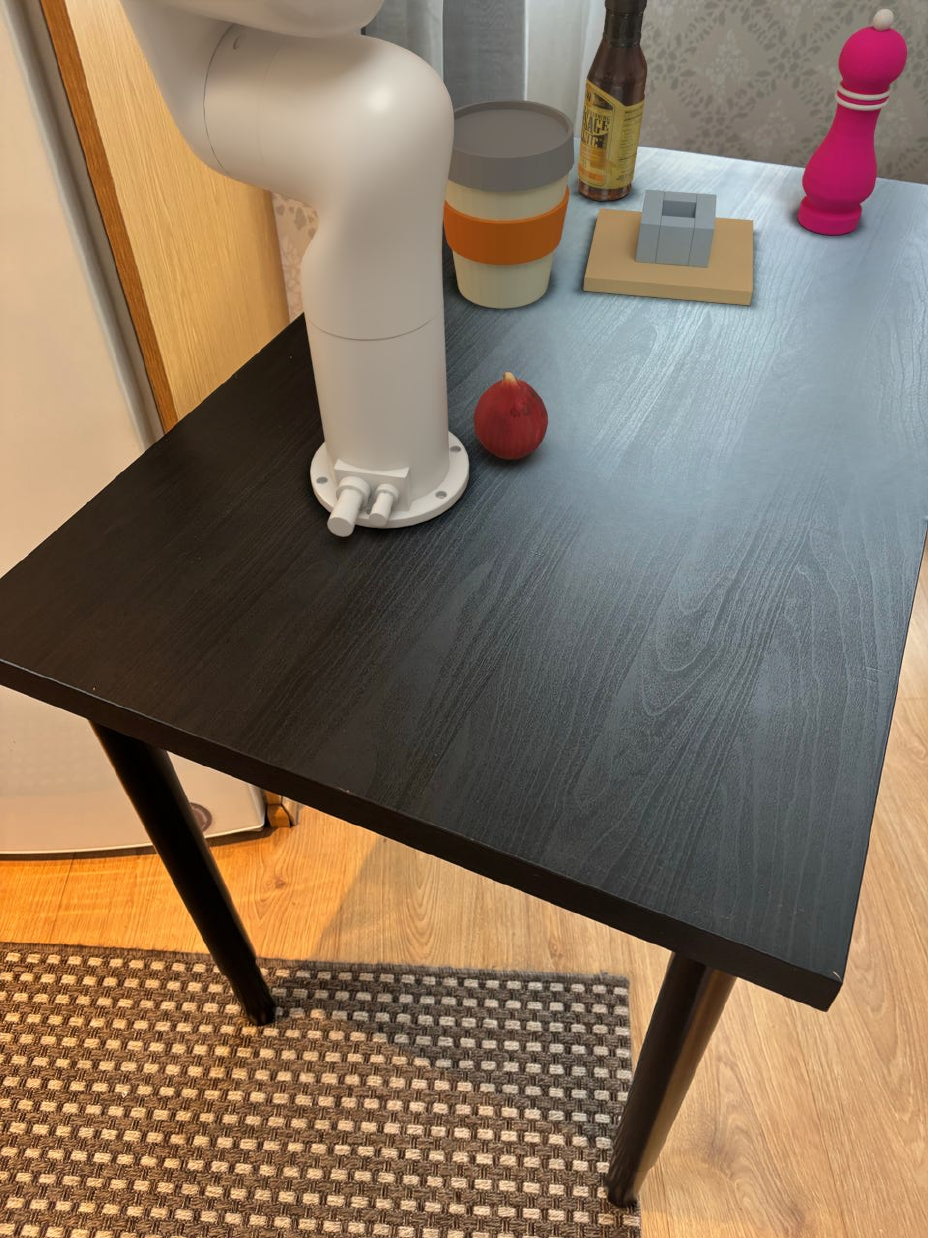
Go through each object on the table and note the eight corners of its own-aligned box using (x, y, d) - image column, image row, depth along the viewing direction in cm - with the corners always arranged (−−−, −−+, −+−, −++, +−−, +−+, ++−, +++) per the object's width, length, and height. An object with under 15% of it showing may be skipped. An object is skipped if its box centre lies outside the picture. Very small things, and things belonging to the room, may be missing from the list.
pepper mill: (856, 205, 105) (919, -4, 90) (867, 239, 100) (936, 23, 85) (788, 203, 106) (839, -5, 90) (796, 236, 101) (852, 22, 86)
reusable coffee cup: (589, 298, 94) (603, 140, 83) (473, 331, 91) (471, 171, 79) (529, 240, 101) (534, 88, 90) (419, 269, 98) (410, 114, 87)
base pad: (749, 305, 93) (758, 266, 90) (583, 290, 95) (586, 252, 92) (750, 233, 102) (758, 196, 99) (598, 221, 104) (601, 184, 101)
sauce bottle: (567, 183, 110) (580, -18, 95) (616, 173, 111) (637, -27, 96) (592, 209, 106) (610, 3, 91) (643, 199, 107) (669, -6, 92)
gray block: (707, 267, 94) (714, 228, 91) (635, 261, 95) (640, 222, 92) (709, 232, 99) (716, 194, 96) (640, 227, 100) (645, 188, 97)
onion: (552, 440, 80) (557, 357, 74) (536, 485, 76) (540, 402, 70) (484, 429, 81) (484, 347, 75) (465, 473, 78) (464, 390, 72)
